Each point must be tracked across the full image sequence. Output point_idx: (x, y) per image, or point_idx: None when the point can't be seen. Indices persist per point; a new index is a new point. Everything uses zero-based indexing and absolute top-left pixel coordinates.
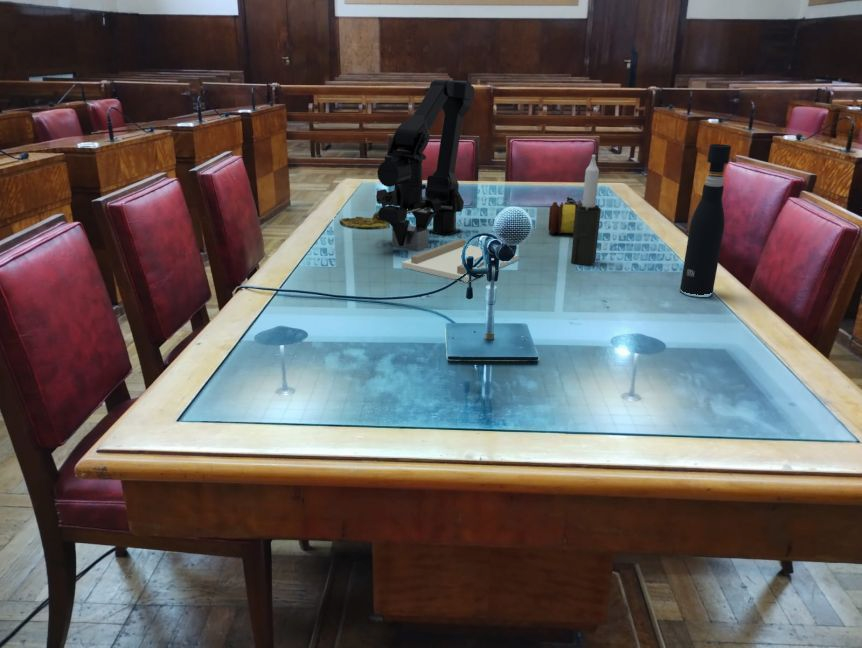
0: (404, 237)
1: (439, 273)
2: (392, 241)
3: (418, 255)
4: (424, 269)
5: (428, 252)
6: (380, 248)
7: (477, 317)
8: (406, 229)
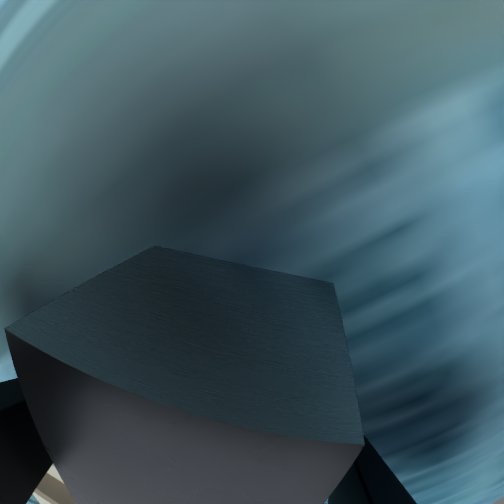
0: None
1: None
2: (130, 261)
3: None
4: None
5: (46, 500)
6: (59, 194)
7: None
8: (13, 497)
